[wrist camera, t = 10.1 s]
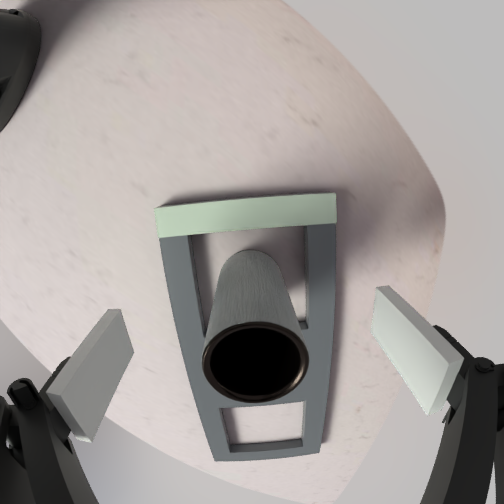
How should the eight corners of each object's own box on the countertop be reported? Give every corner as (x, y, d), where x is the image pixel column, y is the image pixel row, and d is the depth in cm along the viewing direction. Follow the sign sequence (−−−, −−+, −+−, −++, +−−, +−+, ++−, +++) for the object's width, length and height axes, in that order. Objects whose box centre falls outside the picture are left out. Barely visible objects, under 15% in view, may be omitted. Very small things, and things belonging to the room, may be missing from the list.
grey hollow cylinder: (232, 239, 20) (222, 305, 10) (291, 262, 21) (329, 341, 11) (210, 294, 21) (188, 388, 11) (266, 314, 22) (281, 413, 12)
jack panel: (159, 206, 19) (154, 208, 18) (329, 191, 19) (335, 193, 18) (215, 453, 27) (214, 462, 26) (317, 445, 27) (319, 453, 26)
